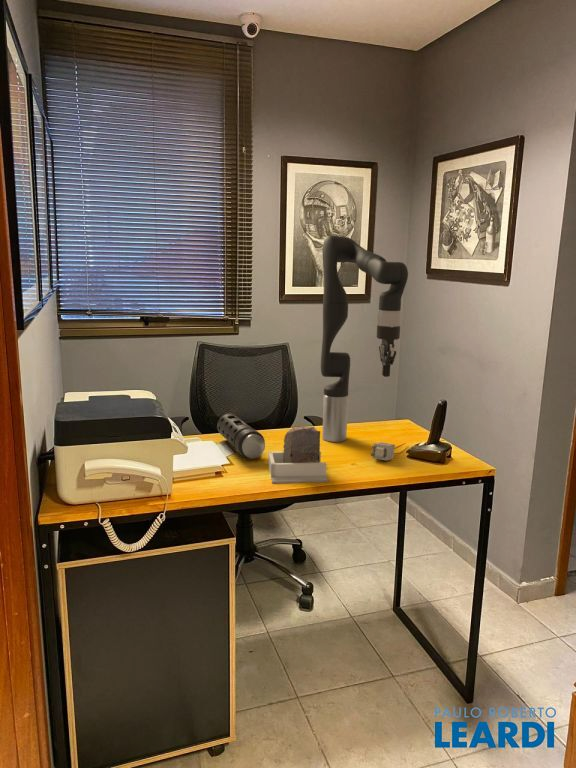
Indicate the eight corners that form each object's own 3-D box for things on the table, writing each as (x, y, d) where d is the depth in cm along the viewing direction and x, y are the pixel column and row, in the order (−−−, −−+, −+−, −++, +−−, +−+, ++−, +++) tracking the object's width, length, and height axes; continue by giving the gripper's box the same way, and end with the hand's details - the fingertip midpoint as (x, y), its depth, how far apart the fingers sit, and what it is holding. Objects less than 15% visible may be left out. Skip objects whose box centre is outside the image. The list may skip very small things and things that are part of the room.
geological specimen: (311, 465, 189) (312, 421, 186) (320, 471, 184) (322, 426, 181) (282, 470, 184) (283, 425, 181) (290, 476, 179) (291, 430, 176)
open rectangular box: (268, 464, 189) (268, 451, 188) (319, 463, 191) (320, 450, 190) (272, 483, 173) (272, 469, 172) (328, 482, 175) (328, 468, 174)
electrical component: (393, 452, 214) (394, 439, 214) (408, 455, 211) (410, 441, 211) (370, 458, 193) (371, 443, 193) (387, 461, 190) (388, 446, 190)
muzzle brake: (240, 438, 218) (240, 411, 216) (267, 461, 193) (267, 431, 191) (216, 440, 214) (216, 413, 212) (240, 464, 189) (240, 434, 187)
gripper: (372, 322, 193) (370, 372, 197) (382, 326, 180) (380, 380, 184) (394, 322, 194) (391, 372, 198) (406, 326, 181) (402, 380, 185)
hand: (385, 376), depth 191 cm, fingers closed
